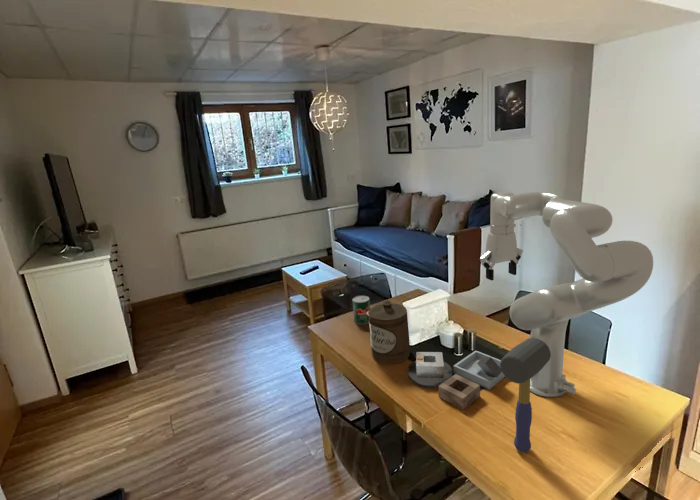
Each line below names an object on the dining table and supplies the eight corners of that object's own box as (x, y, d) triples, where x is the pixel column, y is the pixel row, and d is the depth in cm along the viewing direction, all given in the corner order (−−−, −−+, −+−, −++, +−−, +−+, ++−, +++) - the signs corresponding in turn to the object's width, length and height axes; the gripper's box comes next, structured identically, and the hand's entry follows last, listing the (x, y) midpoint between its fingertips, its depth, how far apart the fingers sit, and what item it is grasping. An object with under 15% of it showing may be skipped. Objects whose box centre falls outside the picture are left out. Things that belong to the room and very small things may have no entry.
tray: (510, 372, 132) (511, 364, 132) (489, 389, 124) (489, 381, 123) (475, 357, 143) (475, 350, 142) (453, 373, 134) (453, 365, 134)
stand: (479, 396, 122) (480, 385, 120) (463, 410, 116) (462, 398, 115) (455, 384, 128) (455, 373, 127) (438, 396, 123) (438, 386, 122)
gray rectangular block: (469, 363, 133) (485, 363, 123) (474, 357, 134) (490, 357, 124) (480, 375, 132) (496, 377, 123) (485, 369, 133) (502, 370, 124)
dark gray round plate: (461, 374, 133) (461, 369, 133) (433, 394, 124) (433, 388, 124) (427, 358, 145) (426, 353, 144) (399, 375, 136) (399, 370, 135)
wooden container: (363, 354, 151) (359, 302, 145) (389, 340, 160) (386, 290, 155) (392, 368, 140) (388, 313, 134) (418, 352, 150) (415, 299, 144)
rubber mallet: (520, 430, 106) (523, 331, 99) (548, 444, 101) (554, 341, 93) (495, 455, 99) (497, 350, 91) (524, 472, 93) (529, 362, 85)
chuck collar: (442, 362, 137) (442, 351, 136) (444, 377, 129) (443, 365, 128) (416, 361, 139) (416, 350, 138) (416, 376, 131) (416, 365, 129)
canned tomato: (361, 326, 175) (360, 303, 172) (350, 321, 181) (348, 299, 178) (374, 320, 180) (373, 298, 177) (363, 315, 186) (361, 294, 183)
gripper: (514, 223, 137) (513, 269, 142) (473, 231, 132) (473, 278, 137) (530, 227, 131) (528, 275, 135) (488, 235, 125) (487, 284, 130)
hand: (501, 276), depth 136 cm, fingers open, 9 cm apart
